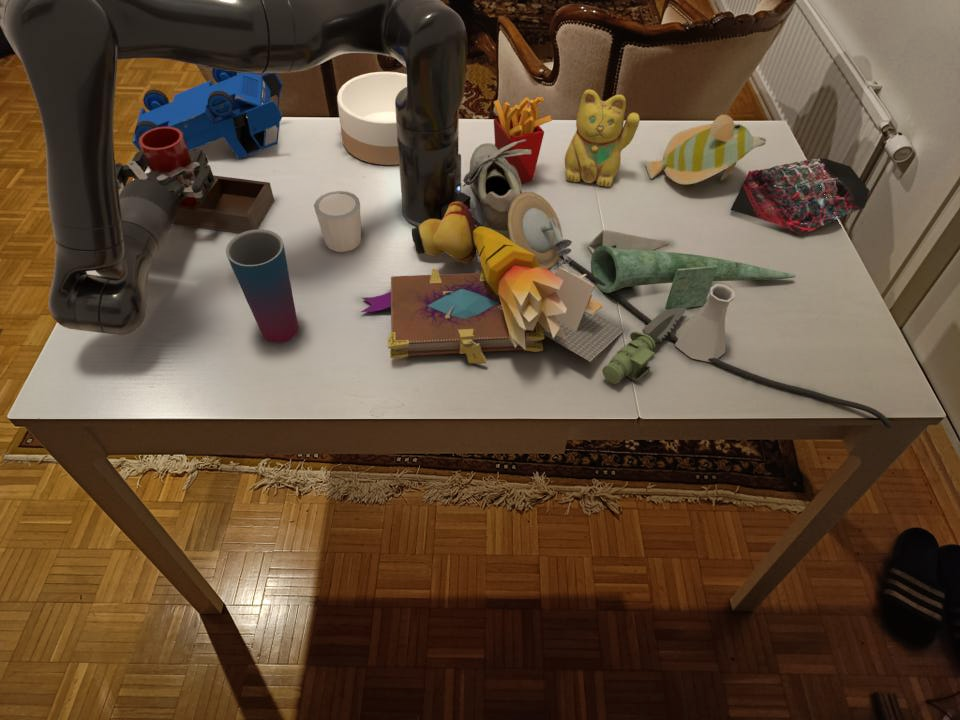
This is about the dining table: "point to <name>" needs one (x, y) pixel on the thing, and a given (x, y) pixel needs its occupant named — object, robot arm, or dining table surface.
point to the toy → (448, 234)
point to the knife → (641, 348)
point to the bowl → (371, 116)
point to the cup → (265, 282)
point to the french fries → (520, 134)
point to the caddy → (229, 206)
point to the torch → (519, 285)
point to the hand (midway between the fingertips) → (174, 153)
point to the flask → (706, 327)
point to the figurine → (599, 139)
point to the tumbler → (167, 153)
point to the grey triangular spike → (624, 241)
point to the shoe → (495, 183)
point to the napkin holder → (581, 318)
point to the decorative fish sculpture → (705, 151)
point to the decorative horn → (671, 273)
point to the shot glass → (339, 220)
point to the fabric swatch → (802, 194)
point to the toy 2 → (537, 229)
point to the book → (447, 317)
